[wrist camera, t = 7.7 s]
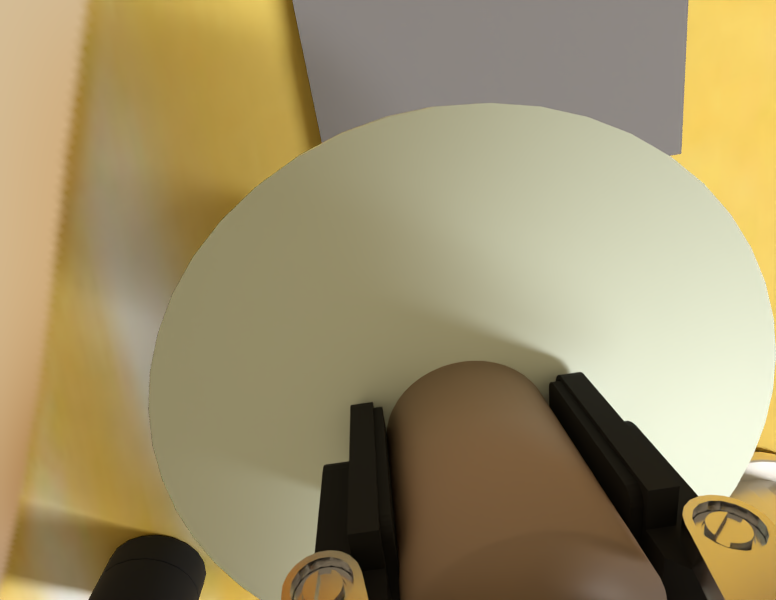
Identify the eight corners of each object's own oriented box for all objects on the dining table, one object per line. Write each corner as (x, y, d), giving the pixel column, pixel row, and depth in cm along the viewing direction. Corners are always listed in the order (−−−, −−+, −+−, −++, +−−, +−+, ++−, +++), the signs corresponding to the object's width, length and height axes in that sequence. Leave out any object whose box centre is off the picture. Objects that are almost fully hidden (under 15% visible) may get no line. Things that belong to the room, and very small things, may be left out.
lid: (786, 56, 11) (1267, -4, 5) (715, 578, 16) (909, 834, 10) (75, 157, 11) (-249, 211, 5) (242, 648, 16) (179, 943, 10)
